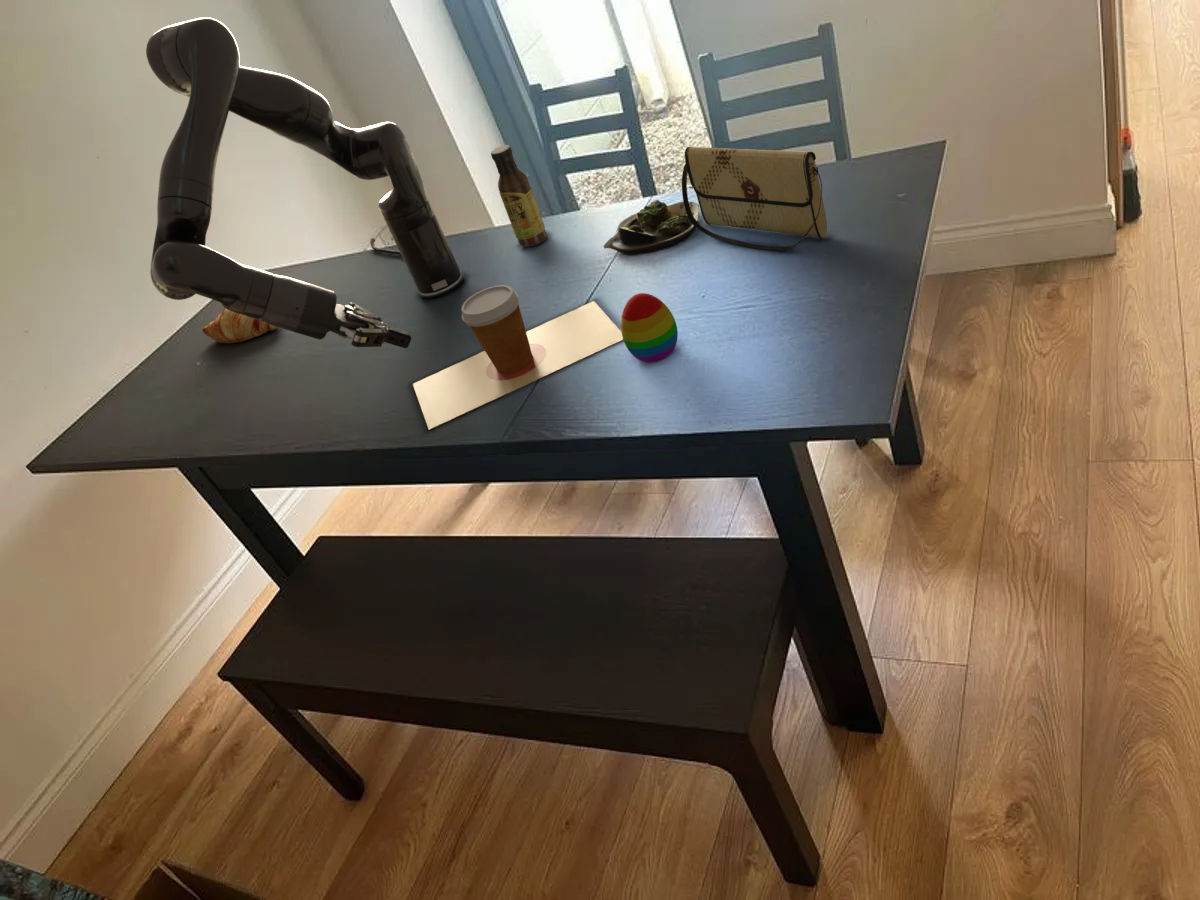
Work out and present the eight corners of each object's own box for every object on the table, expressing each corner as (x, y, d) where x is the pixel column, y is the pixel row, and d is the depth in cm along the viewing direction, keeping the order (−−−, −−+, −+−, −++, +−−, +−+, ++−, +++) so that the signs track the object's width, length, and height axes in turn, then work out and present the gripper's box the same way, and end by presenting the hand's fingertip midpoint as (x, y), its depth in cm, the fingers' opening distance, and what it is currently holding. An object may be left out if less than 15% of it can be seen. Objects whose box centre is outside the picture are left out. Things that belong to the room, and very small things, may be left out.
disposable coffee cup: (537, 372, 149) (510, 307, 142) (482, 385, 151) (452, 321, 144) (545, 341, 156) (520, 277, 149) (493, 353, 158) (465, 292, 152)
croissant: (299, 334, 202) (292, 296, 201) (267, 338, 193) (259, 299, 192) (223, 344, 211) (216, 309, 209) (189, 349, 201) (181, 311, 200)
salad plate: (619, 217, 188) (612, 196, 186) (706, 197, 182) (700, 175, 180) (602, 263, 174) (595, 241, 171) (696, 243, 168) (690, 219, 165)
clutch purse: (683, 238, 171) (660, 160, 163) (708, 220, 174) (687, 142, 166) (816, 257, 150) (798, 168, 141) (842, 235, 153) (825, 147, 144)
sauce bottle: (513, 248, 193) (477, 156, 182) (533, 233, 196) (498, 142, 185) (535, 249, 189) (499, 155, 178) (555, 234, 192) (520, 141, 181)
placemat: (412, 384, 159) (412, 383, 159) (593, 301, 162) (593, 300, 162) (429, 430, 145) (428, 429, 145) (626, 338, 148) (626, 337, 148)
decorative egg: (675, 331, 145) (658, 274, 140) (688, 355, 138) (670, 296, 133) (626, 349, 146) (606, 294, 140) (636, 374, 139) (616, 317, 133)
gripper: (308, 299, 132) (424, 335, 140) (303, 269, 143) (411, 304, 151) (291, 346, 135) (406, 379, 143) (288, 313, 146) (395, 345, 154)
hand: (408, 340), depth 147 cm, fingers closed
